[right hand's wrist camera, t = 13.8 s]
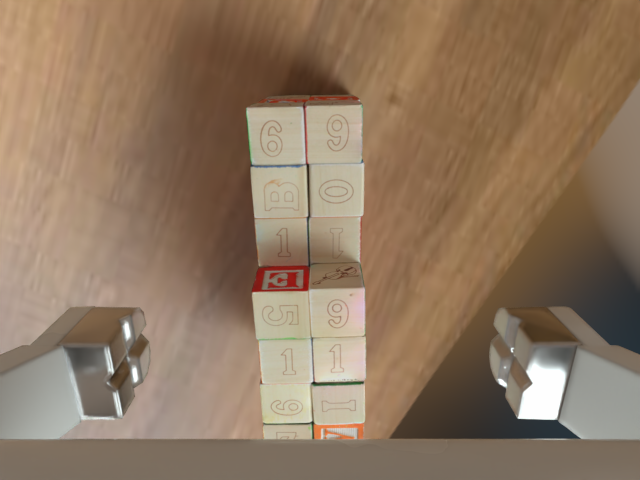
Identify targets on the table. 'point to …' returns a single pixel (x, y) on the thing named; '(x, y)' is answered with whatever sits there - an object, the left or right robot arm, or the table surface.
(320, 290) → the stack of blocks
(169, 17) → the table surface
